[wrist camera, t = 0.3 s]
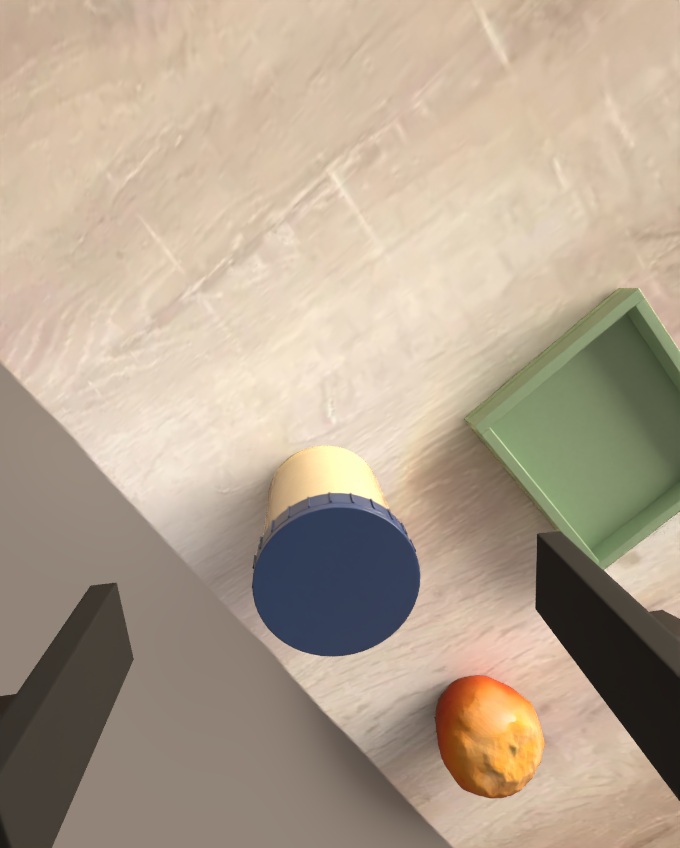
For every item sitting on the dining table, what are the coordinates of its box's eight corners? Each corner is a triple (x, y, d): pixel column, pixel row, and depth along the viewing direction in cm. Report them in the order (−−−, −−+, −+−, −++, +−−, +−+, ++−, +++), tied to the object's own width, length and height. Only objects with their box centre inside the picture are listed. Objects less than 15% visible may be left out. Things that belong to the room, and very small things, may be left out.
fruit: (396, 746, 41) (452, 791, 34) (432, 650, 44) (491, 672, 37) (472, 784, 43) (542, 834, 36) (503, 689, 46) (572, 717, 39)
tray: (463, 418, 36) (473, 426, 34) (618, 287, 35) (638, 287, 33) (581, 561, 40) (597, 575, 38) (725, 448, 39) (749, 457, 37)
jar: (244, 496, 36) (226, 577, 26) (329, 422, 35) (344, 476, 25) (319, 569, 38) (329, 670, 28) (401, 500, 37) (442, 579, 27)
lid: (219, 564, 27) (214, 584, 25) (342, 458, 26) (346, 471, 25) (327, 661, 29) (330, 686, 28) (444, 567, 29) (454, 586, 27)
